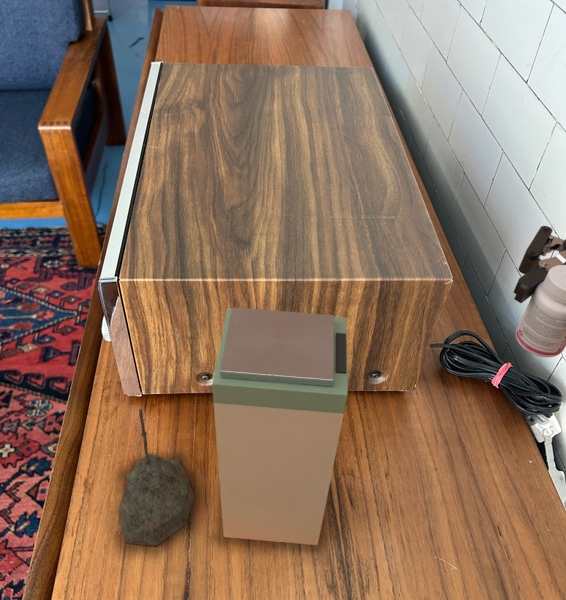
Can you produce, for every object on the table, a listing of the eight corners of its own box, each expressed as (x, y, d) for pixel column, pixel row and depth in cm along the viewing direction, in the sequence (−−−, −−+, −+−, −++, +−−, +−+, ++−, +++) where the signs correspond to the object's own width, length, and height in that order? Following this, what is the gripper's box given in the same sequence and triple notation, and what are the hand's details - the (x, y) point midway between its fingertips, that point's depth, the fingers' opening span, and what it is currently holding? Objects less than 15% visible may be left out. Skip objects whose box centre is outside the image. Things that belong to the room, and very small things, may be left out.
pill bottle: (564, 364, 55) (601, 302, 49) (513, 351, 56) (544, 288, 50) (562, 330, 58) (597, 268, 52) (515, 319, 59) (543, 256, 53)
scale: (343, 336, 49) (347, 310, 46) (344, 414, 43) (349, 388, 41) (228, 327, 49) (227, 301, 47) (213, 403, 43) (211, 377, 41)
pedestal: (319, 476, 65) (343, 336, 49) (317, 545, 59) (344, 414, 43) (233, 468, 65) (228, 327, 49) (223, 537, 60) (213, 403, 43)
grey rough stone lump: (196, 541, 59) (187, 485, 51) (119, 552, 58) (97, 496, 50) (192, 457, 66) (184, 395, 58) (123, 464, 65) (105, 403, 57)
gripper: (582, 180, 61) (491, 239, 52) (723, 245, 53) (643, 327, 45) (556, 236, 66) (469, 298, 58) (682, 302, 58) (602, 385, 50)
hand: (546, 310), depth 51 cm, fingers closed on pill bottle, 4 cm apart
